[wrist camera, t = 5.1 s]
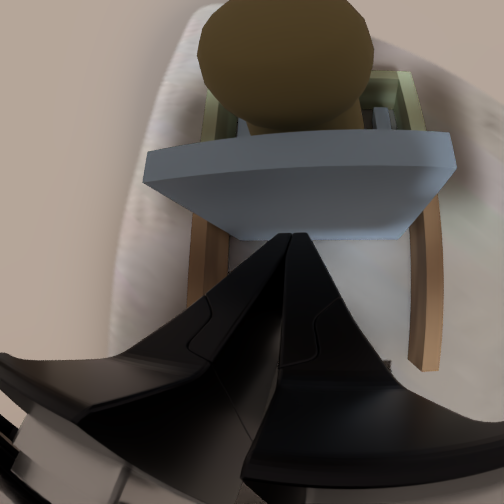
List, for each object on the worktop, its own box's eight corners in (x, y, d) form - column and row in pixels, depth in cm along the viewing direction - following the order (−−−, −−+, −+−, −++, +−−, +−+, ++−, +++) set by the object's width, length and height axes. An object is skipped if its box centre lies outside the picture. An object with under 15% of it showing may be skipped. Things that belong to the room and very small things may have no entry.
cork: (292, 241, 16) (204, 139, 6) (247, 153, 18) (148, 18, 7) (391, 190, 15) (441, 36, 5) (335, 109, 17) (309, -51, 6)
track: (421, 358, 13) (438, 370, 10) (210, 350, 16) (185, 358, 14) (404, 102, 15) (410, 71, 13) (226, 112, 19) (208, 86, 16)
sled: (398, 239, 14) (457, 168, 6) (240, 240, 17) (142, 182, 8) (385, 121, 16) (398, -1, 7) (246, 128, 18) (179, 25, 9)
